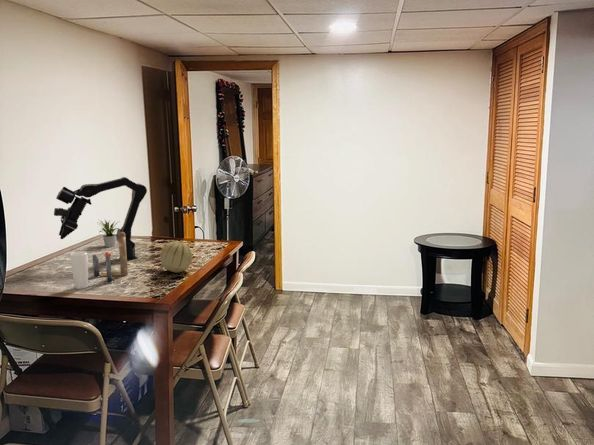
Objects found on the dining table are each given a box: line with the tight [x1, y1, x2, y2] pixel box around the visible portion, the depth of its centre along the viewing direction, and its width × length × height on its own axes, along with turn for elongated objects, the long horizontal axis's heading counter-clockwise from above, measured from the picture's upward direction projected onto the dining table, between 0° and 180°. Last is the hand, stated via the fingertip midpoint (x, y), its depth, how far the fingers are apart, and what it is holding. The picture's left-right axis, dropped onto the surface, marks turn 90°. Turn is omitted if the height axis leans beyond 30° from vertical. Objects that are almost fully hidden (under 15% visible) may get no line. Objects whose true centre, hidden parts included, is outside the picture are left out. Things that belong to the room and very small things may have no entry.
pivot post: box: [91, 254, 103, 279], centre depth 237 cm, size 4×4×10 cm
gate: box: [100, 232, 129, 277], centre depth 237 cm, size 12×3×20 cm, turn 102°
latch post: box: [104, 251, 115, 285], centre depth 228 cm, size 4×4×14 cm
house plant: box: [97, 219, 119, 248], centre depth 292 cm, size 14×14×16 cm
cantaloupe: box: [159, 239, 193, 273], centre depth 244 cm, size 15×15×15 cm
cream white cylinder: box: [69, 251, 89, 290], centre depth 221 cm, size 7×7×15 cm
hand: (60, 237), depth 250 cm, fingers open, 9 cm apart
